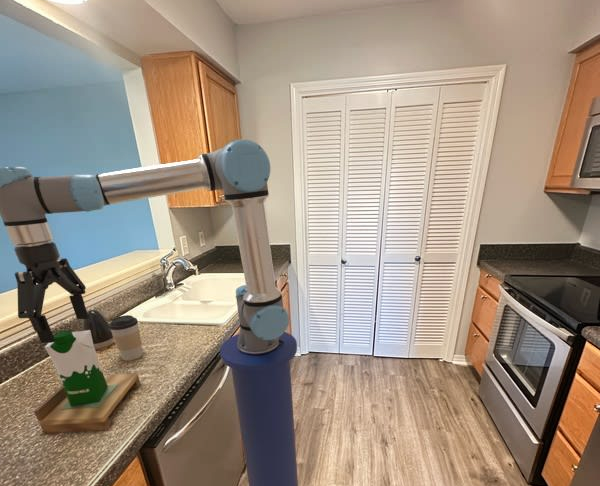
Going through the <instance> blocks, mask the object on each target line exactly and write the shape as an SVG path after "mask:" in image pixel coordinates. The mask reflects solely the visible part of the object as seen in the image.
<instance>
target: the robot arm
mask: <svg viewBox="0 0 600 486" xmlns="http://www.w3.org/2000/svg"><path fill="white" fill-rule="evenodd" d="M270 175H271V162H270V159H269V156H268V154H267V152H266V151H265V150H264V148H263V147H261V145H260V144H258V143H257V142H256V141H253V140H251V139H243V138H242V139H235V140H231V141H229V142H228V143H227V144H226V145H225V146H223V147H221V148H218V149H217V150H214V151H211V152H207V153H201V154H199V155H198V157H197V158H195V159H189V160H184V161H183V160H182V161H176V162H170V163H163V164H156V165H149V166H142V167H135V168H129V169H122V170H115V171H109V172H108V171H107V172H102V173H96V174H95V173H94V174H80V173H79V174H78V173H77V174H67V175H53V176H33V174H32V173H31V171H30V170H29V168H27V167H25V166H0V218H1V220H2V223H3V225H4V227H5V230H6V231H7V234H8V237H9V239H10V242H11V244H12V245H14V246H15V247H14V249H13V250H14V252H15V255H16V257H17V260H18V263H19V264H21V265H23V266H25V268H26V271H17V272H16V271H15V272H14V277H15V280H16V284H17V317H18V318H19V319H27V320H29V322H30V324H31V326H32V329H33V330H34V332H36V334H37V337H38V339H39V341H40V343H41V344H48V343H52V342H54V341H55V339H54V336H53V335H54V334H53V331H52V329H51V327H50V324H49V322H48V319H47V317H46V315H45V314H42V313H43V306H44V301H45V297H46V296H45V295H46V291H47V289H49V287H50V286H51V285H53V284H54V283H56V284H57V285H58V286H59V287H61V288H62V289H64V290H65V291H66V292H68V294H70V295H69V296H68V297H69V300H70V303H71V305H72V308H73V311H74V314H75V317H76V320H83V319H88V318H89V316H88V313H87V311H88V310H87V307H86V304H85V301H84V297H83V295H85V294H86V289H87V288H86V287H87V286H86V285H85V284H84V282H83V281H82V280H81V279H80V277H79V276H78V274H77V273H76V271H74V269H73V268H72V267H71V264H70V263H69V261H68V260H69V259H67V258H64V257H63V258H60V257H61V256H60V255H61V254H60V252H59V249H58V247H57V245H56V243H55V242H53V241H54V239H55V238H54V235H53V232H52V229H51V227H50V224H49V222H48V219H47V217H46V215H47V214H48V215H52V214H65V213H79V212H87V213H89V212H93V211H99V210H102V209H104V207H105V206H110V205H115V204H121V203H127V202H132V201H138V200H139V201H140V200H145V199H151V198H156V197H162V196H168V195H174V194H179V193H185V192H190V191H191V192H192V191H196V190H203V189H205V191H208V192H212V191H223V197H224V201H225V202H226V203H227V204H228V205H229V206H230V207H231V208H232V213H233V219H234V224H235V230H236V236H237V242H238V248H239V252H240V253H239V254H240V258H241V264H242V271H243V276H244V281H245V284H244V285H240V286H239V287H237V288H236V289H235V299H236V305H237V306H236V307H237V313H238V320H239V326H240V327H239V332H238V334H239V337H238V341H237V346H238V350H239V351H240V352H241V353H243V354H246V355H264V354H268V353H270V352H272V351H274V350H276V349H277V348H278V347H279V342H280V343H282V344H283V343H284V341H282V340H280V339H279V337H280V336H281V335H282V334H283V333H284V332H287V330H288V327H289V325H290V315H289V313H288V311H287V309H286V308H285V307H284V300H283V294H282V290H281V289H279V288H278V287H277V286H276V280H275V272H274V265H273V257H272V249H271V242H270V236H269V229H268V222H267V214H266V206H265V203H266V201H267V199H268V198H269V197H270V194H269V186H268V181H269V180H270V179H269V178H270Z"/></svg>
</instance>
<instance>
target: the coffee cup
mask: <svg viewBox="0 0 600 486" xmlns="http://www.w3.org/2000/svg"><path fill="white" fill-rule="evenodd" d="M109 323H110V324H109V328H110V329H111V332H112V335H113V338H114V343H115V345H116V348H117V350H118V351H119V353H120V356H121V359H122V360H123V361H134V360H137V359H139V358H141V357H142V356H143V355H144V351H143V345H142V344H143V343H142V337H141V331H140V327H139V321H138V318H137V317H134V316H133V315H130V314H129V315H128V314H126V315H120V316H116V317H114V318H113V319H111V322H109Z"/></svg>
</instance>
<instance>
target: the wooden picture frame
mask: <svg viewBox="0 0 600 486" xmlns="http://www.w3.org/2000/svg"><path fill="white" fill-rule="evenodd" d="M103 375H104V378H105V380H106V383H107V386H108V387H107V389H106V391H105V393H104V394H103V396H102V398H101V400H100V401H99V402H95V403H89V404H82V405H76V406H70V403H69V401H68V398H67V396H66V393H65V391H64V388H63V385H62V384H61V386H60V387H59V388H58V389H56V390H55V392H53V393H52V394H51V395H50V396H48V397H47V399H45V400H44V401H43V402H42V403H41V404H40V405H39V406H38V407H36V409H34V410H33V413H34V415H35V417H36V419H37V421H38V424H39V426H40V428H41V430H42V432H43V434H52V433H53V434H54V433H55V434H56V433H71V432H72V433H75V432H90V431H91V432H93V431H107V430H108V429H109V428H110V426H111V421H110V418H109V416H110V415H111V414H112V412H113V411H114V410H115V409H116V408H117V406H118V404H119V403H120V402H121V401H122V400H123V398H124V397H125V396H126V395H127V393H128V392H129V390H130V389H138V388H139V387H140V386H141V381H140V377H139V374H138V373H120V374H103Z"/></svg>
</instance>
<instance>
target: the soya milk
mask: <svg viewBox="0 0 600 486" xmlns="http://www.w3.org/2000/svg"><path fill="white" fill-rule="evenodd" d="M53 336H54V339H55V341H54V342H52V343H46V345H44V349H45V351H46V352H47V354H48V356H49V357H50V359H51V360H52V363H53V365H54V368H55V371H56V373H57V375H58V378H59V380H60V383H61V386H62V385H63V388H64V391H65V393H66V396H67V398H68V401H69V403H70V406H76V405H82V404H89V403H95V402H99V401H100V400H101V398H102V396H103V394H104V393H105V391H106V389H107V387H108V386H107V383H106V380H105V378H104V375H105V374H104V371H103V369H102V366H101V363H100V360H99V358H98V354H97V351H96V349H95V348H94V345H93V340H92V336H91V331H90V330H86V331H82V330H80V331H72V330H62V331H61V330H60V331H58V332H56V333H54V334H53Z"/></svg>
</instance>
